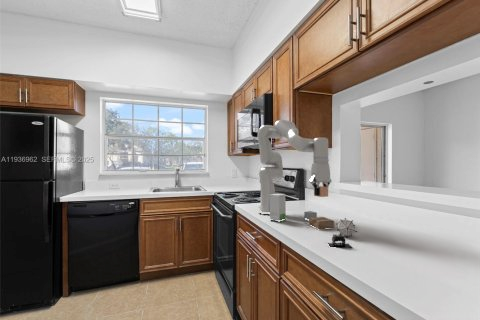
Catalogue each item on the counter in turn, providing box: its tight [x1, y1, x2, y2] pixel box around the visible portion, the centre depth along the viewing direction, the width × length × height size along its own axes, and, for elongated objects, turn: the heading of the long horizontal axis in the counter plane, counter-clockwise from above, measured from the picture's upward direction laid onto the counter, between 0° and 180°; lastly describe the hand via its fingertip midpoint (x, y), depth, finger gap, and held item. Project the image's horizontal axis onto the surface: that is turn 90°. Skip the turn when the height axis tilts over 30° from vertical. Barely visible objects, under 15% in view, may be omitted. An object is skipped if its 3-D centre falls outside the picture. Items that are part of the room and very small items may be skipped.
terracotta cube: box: [313, 185, 329, 198], centre depth 121 cm, size 5×5×5 cm
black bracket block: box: [327, 233, 354, 249], centre depth 92 cm, size 12×7×5 cm, turn 85°
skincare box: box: [269, 193, 287, 220], centre depth 135 cm, size 8×7×16 cm
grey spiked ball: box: [335, 217, 358, 239], centre depth 105 cm, size 9×8×10 cm
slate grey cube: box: [303, 210, 318, 219], centre depth 136 cm, size 5×5×5 cm
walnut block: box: [308, 216, 335, 230], centre depth 121 cm, size 9×9×4 cm
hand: (321, 194), depth 121 cm, fingers closed on terracotta cube, 5 cm apart
